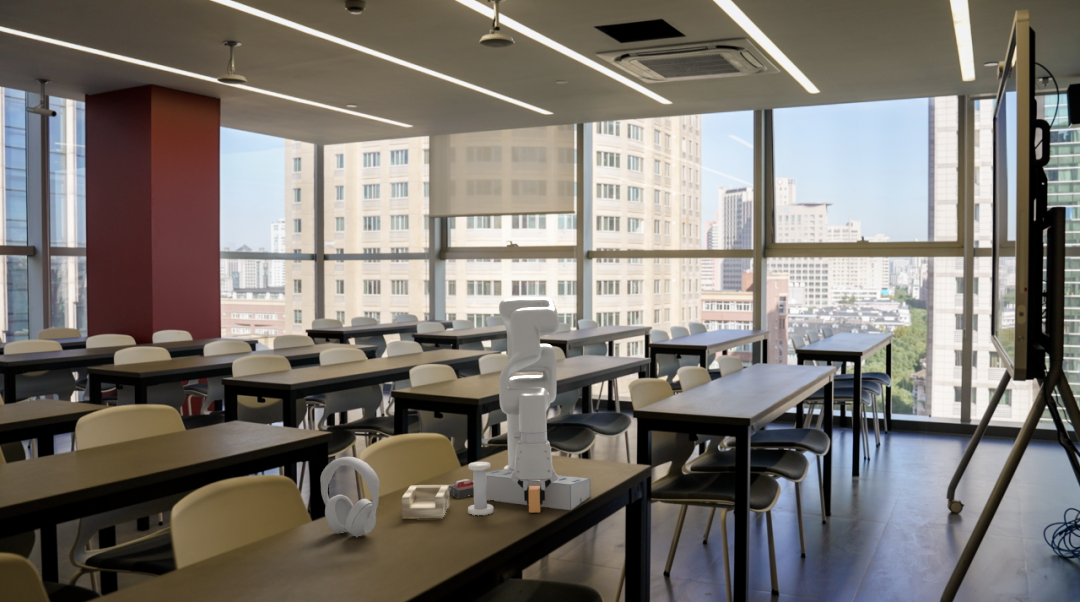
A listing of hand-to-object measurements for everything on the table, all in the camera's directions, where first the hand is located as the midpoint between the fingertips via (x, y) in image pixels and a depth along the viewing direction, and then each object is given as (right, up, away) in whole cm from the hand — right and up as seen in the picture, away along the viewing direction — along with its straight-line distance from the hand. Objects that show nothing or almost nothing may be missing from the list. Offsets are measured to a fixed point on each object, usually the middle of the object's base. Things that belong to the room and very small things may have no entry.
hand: (534, 502), depth 214 cm
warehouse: (0, -2, +13) cm, 13 cm away
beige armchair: (-30, -3, +1) cm, 30 cm away
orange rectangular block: (0, -2, 0) cm, 2 cm away
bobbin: (-15, -3, 0) cm, 15 cm away
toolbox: (-23, -3, +19) cm, 30 cm away
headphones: (-47, -4, -16) cm, 49 cm away
